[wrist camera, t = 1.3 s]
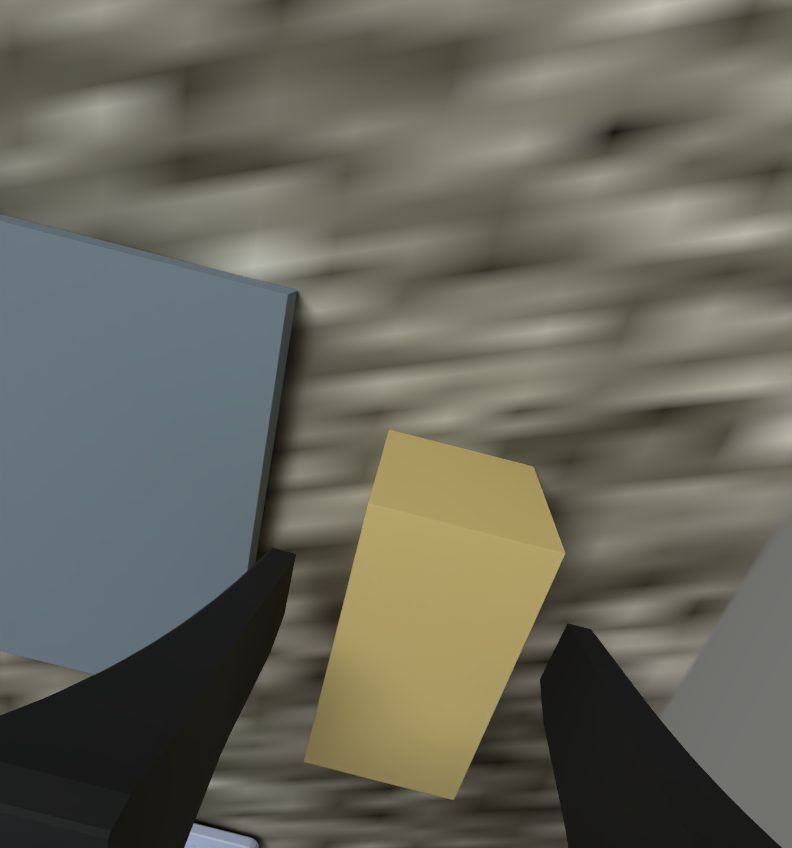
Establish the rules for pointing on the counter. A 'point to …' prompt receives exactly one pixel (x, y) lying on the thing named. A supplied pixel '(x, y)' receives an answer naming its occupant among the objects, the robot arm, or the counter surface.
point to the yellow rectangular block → (433, 614)
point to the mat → (127, 440)
